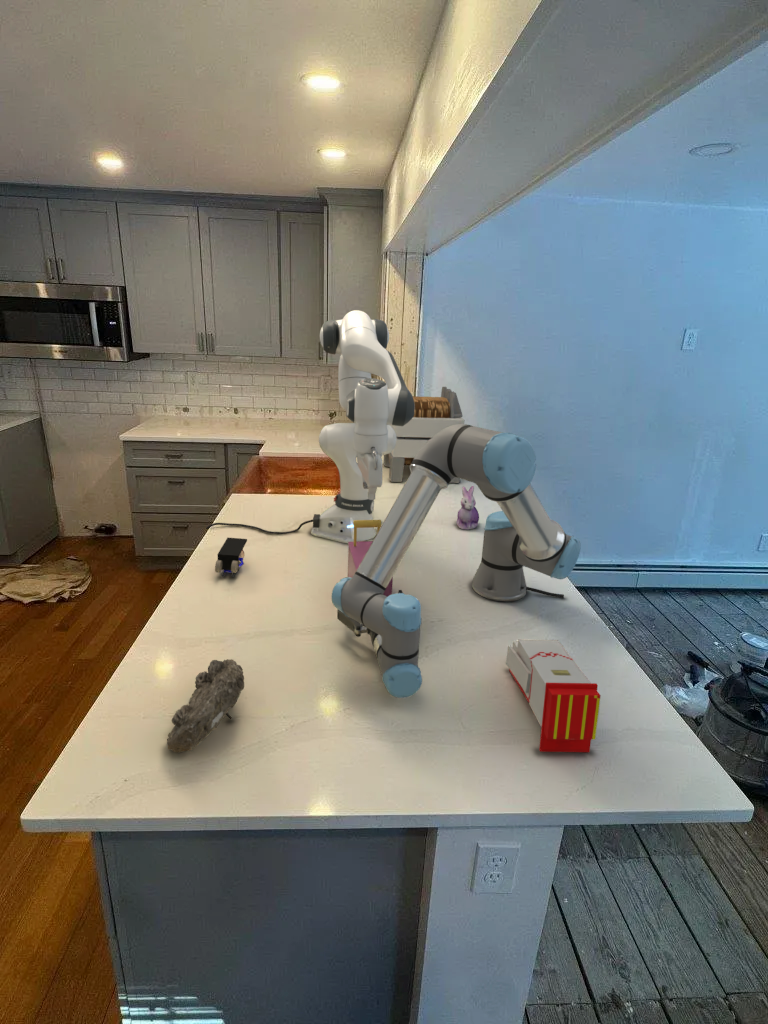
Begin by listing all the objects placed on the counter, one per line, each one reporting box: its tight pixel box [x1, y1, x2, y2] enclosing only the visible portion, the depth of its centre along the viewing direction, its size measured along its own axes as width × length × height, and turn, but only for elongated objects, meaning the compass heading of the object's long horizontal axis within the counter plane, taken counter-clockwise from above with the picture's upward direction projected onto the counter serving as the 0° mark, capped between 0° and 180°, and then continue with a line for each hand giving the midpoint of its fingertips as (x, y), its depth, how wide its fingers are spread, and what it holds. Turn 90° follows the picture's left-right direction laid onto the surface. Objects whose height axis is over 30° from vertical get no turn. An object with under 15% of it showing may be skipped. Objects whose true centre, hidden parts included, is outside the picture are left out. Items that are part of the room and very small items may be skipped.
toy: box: [505, 638, 602, 753], centre depth 114 cm, size 12×13×30 cm
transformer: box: [382, 386, 465, 484], centre depth 268 cm, size 34×33×41 cm
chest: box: [347, 545, 394, 597], centre depth 154 cm, size 18×10×11 cm, turn 10°
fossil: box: [166, 658, 245, 754], centre depth 106 cm, size 22×10×15 cm
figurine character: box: [214, 537, 248, 578], centre depth 166 cm, size 7×8×15 cm
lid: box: [347, 519, 382, 571], centre depth 151 cm, size 18×10×9 cm, turn 10°
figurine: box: [456, 485, 480, 530], centre depth 208 cm, size 9×10×15 cm
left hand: (368, 493), depth 153 cm, fingers open, 8 cm apart
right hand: (373, 595), depth 144 cm, fingers open, 13 cm apart
